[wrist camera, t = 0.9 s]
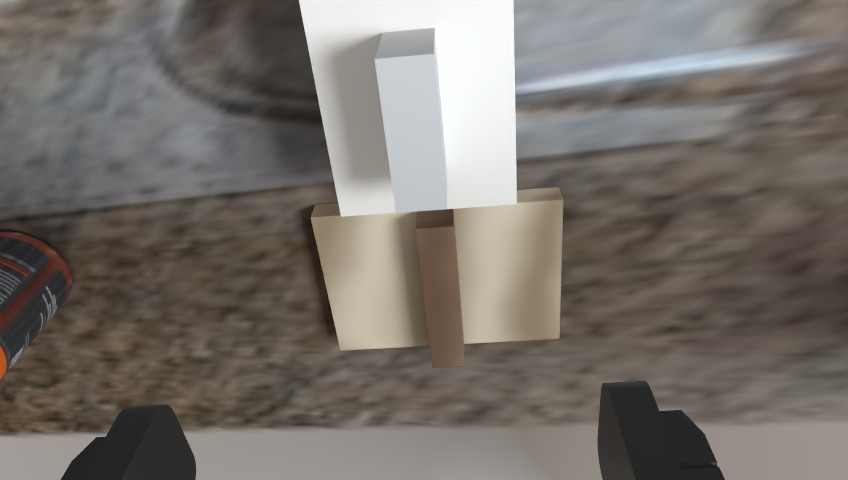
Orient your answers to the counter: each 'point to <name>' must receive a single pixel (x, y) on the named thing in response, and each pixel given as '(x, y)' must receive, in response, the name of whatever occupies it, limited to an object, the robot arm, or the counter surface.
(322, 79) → the notched white block
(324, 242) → the wall board
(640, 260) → the counter surface
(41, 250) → the supplement bottle
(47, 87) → the counter surface
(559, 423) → the counter surface
